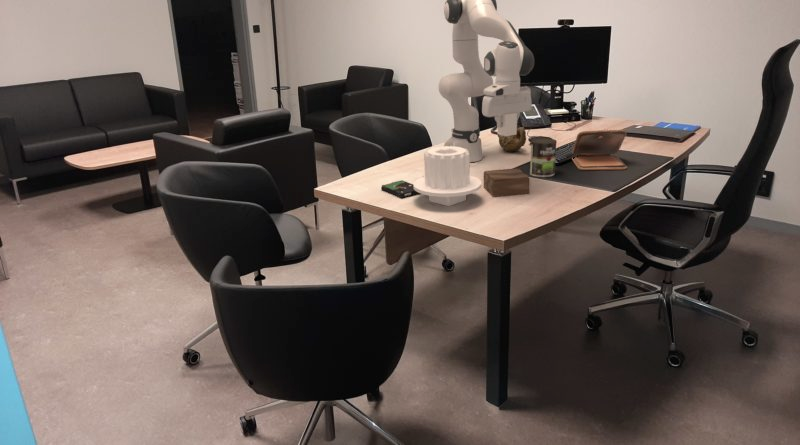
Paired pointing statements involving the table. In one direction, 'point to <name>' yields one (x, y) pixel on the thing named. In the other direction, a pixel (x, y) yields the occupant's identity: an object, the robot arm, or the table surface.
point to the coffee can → (543, 157)
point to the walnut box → (506, 182)
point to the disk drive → (400, 189)
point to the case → (599, 150)
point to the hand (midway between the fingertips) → (506, 126)
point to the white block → (508, 124)
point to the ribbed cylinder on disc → (447, 176)
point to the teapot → (513, 140)
